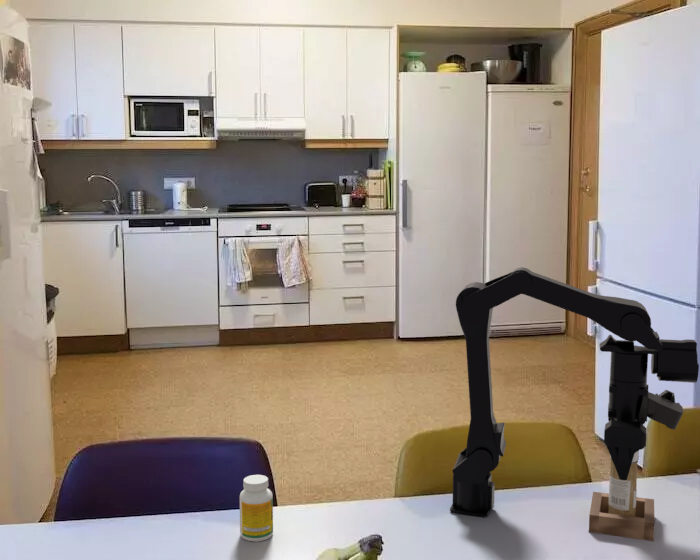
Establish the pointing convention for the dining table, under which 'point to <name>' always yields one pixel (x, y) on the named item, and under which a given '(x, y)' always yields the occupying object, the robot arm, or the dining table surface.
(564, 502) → the dining table surface
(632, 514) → the sprinkles bottle
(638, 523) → the walnut socket
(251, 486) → the supplement bottle
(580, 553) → the dining table surface
